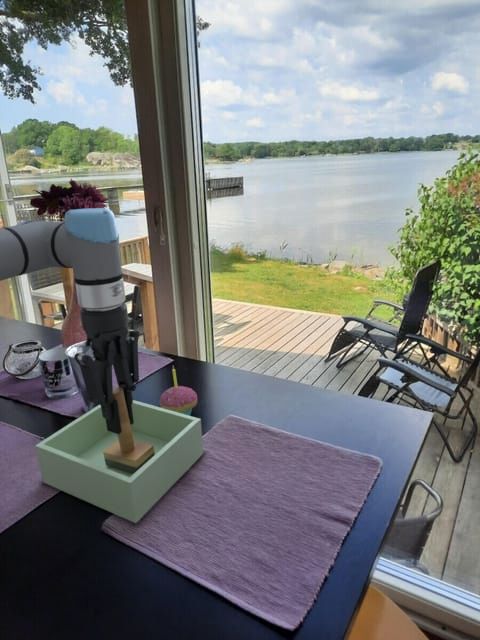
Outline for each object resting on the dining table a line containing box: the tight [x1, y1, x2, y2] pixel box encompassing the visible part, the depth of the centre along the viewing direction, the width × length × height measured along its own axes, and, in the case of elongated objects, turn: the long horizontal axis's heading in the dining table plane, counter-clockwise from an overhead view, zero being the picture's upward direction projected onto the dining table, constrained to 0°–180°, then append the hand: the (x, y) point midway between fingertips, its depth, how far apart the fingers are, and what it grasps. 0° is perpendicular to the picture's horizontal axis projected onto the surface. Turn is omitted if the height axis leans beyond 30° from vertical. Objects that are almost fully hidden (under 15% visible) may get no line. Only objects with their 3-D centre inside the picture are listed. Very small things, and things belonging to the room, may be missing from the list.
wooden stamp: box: [103, 386, 155, 473], centre depth 81 cm, size 8×5×15 cm, turn 62°
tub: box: [34, 399, 204, 524], centre depth 83 cm, size 22×20×8 cm
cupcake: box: [159, 365, 198, 416], centre depth 98 cm, size 9×8×12 cm
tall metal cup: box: [64, 340, 99, 414], centre depth 100 cm, size 11×11×30 cm
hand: (120, 426), depth 81 cm, fingers closed on wooden stamp, 3 cm apart
